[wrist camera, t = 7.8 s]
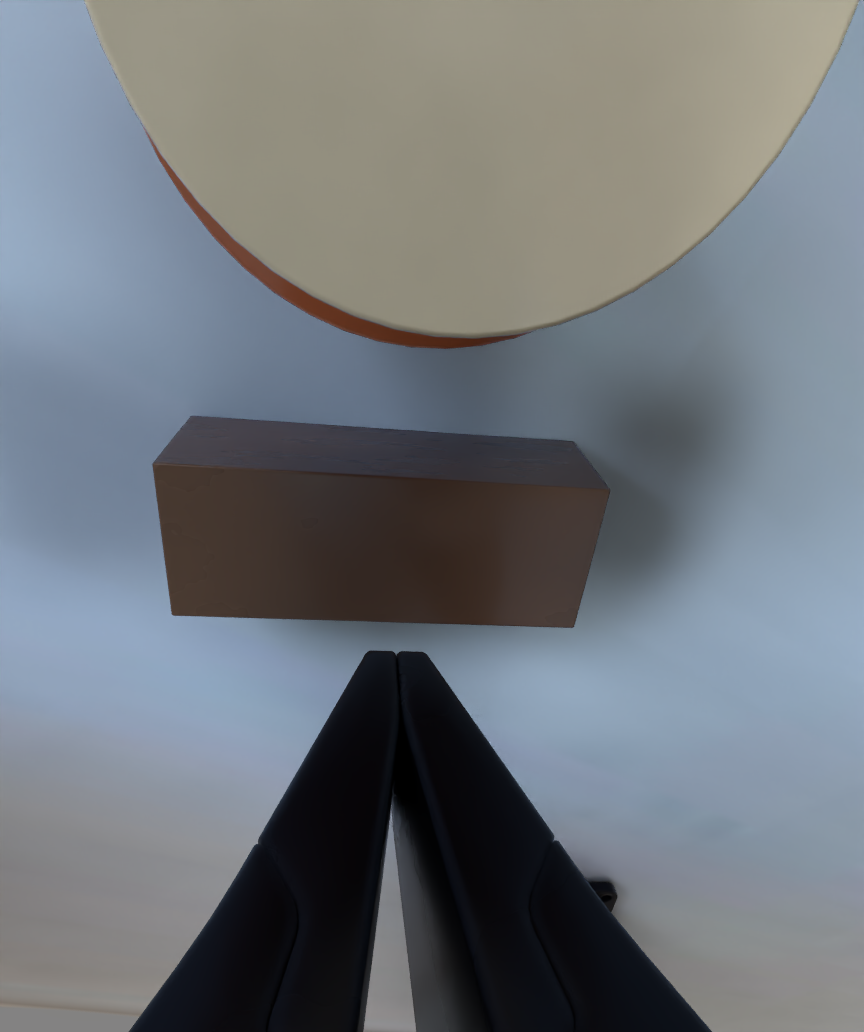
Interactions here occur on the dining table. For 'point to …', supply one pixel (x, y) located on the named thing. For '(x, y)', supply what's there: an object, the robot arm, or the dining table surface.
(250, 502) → the walnut block
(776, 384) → the dining table surface
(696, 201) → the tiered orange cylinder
